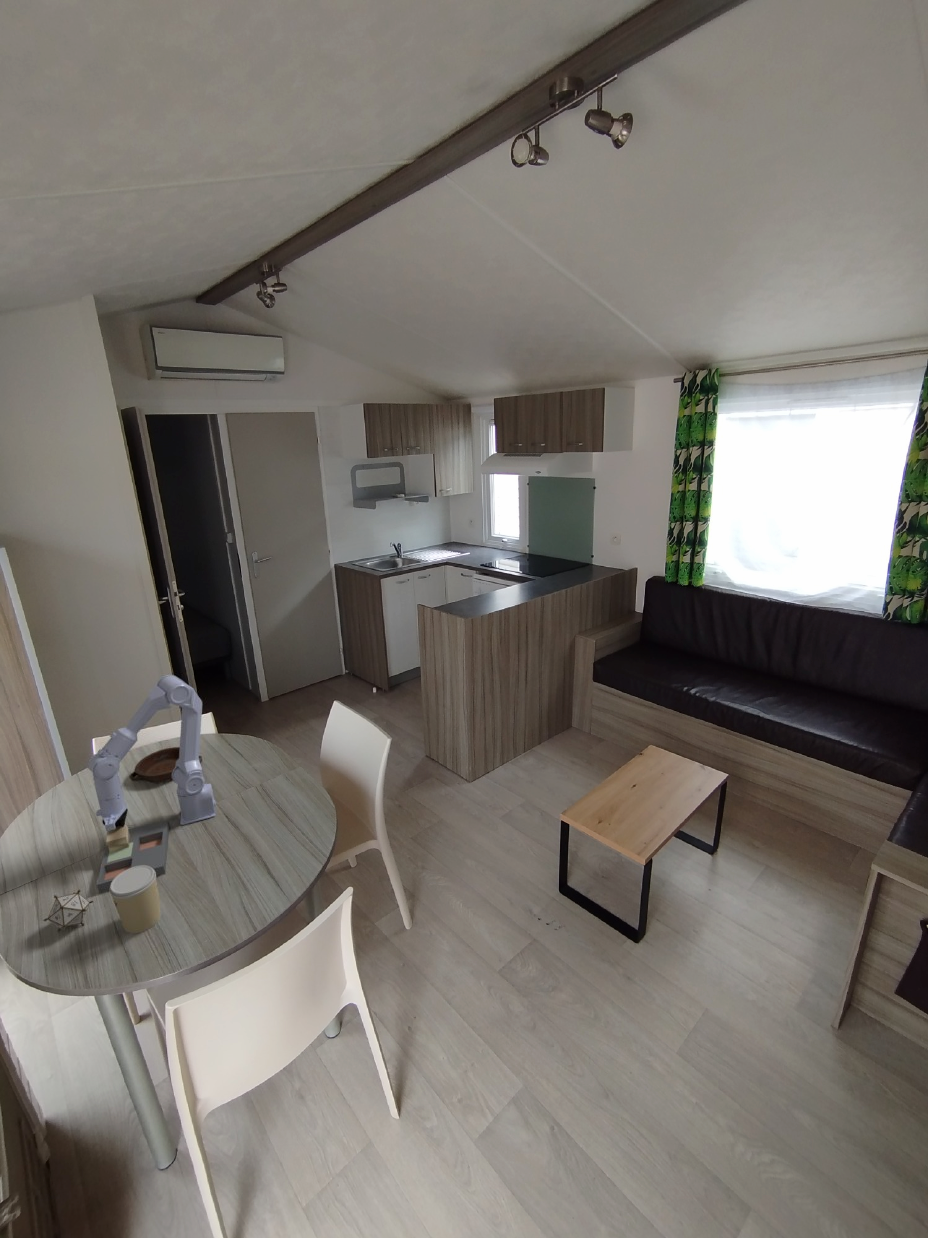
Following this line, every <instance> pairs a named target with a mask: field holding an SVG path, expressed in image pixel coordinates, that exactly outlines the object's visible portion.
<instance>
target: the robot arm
mask: <svg viewBox="0 0 928 1238" xmlns="http://www.w3.org/2000/svg"><path fill="white" fill-rule="evenodd" d="M170 704H172V705H174V706H178V707H180V708H181V720H180V736H179V738H180V739H179V747H180V752H179V759H178V760H177V761H176V766H175V768H174V770H173V772H172V780H171V781H173V782H174V783H176V785H177V788H176V795H177V798H178V799H177V800H178V803H179V807H180V826H184V825H187V824H191V823H196V822H199V821H202V820H207V819H211V818H215V817H216V806H217V802H216V799H215V798H214V797H215V796H214V791H213V787H212V784H211V783H205V782H206V781H205V780H206V779H205V777H204V776H203V767H202V765H201V764H202V763H200V762H199V756H200V749H201V748H200V747H201V745H200V744H201V731H202V729H201V728H202V718H203V717H202V713H203V700H202V699H201V698H200V697H199V695H198V694H197V692H196V691H195V688H194V687H192V686H190V684H187V683H186V682H185V681H184V680H183V679H181V678H179V677H178V676H176V675H174V674H167V675H164V676H162V677H161V678H159V680H158V681H157V683H156V684H155V685H154V686H152V687H151V689H150V692H149V693H148V696H147V697H146V698H145V699H144V701H143V702H142V704H141V705H140V707H139V708H138V709H137V711H135V713H134V714H133V716H132V717H131V719H130V720H129V722H127V724H126V726H124V727H120V728H118V729H116V731H115V732H111V733H110V735H109V737H110V738H109V740H108V741H107V742H106V743H105V744H104V746H102V748H99V749H98V751H97V752H96V753H95V754H93V755H92V756H91V757H90V759H89V760H88V764H87V765H86V766H87V768H88V770H89V771H91V773H92V777H93V781H94V783H93V785H94V788H95V793H96V797H97V801H98V804H99V808H100V809H98V810H96V813H95V816H96V817H100V816H101V818H102V820H101V821H102V824H103V825H104V827H105V831H106V832H107V831H110V830H114V829H115V827H119V826H122V827H124V825H126V819H127V815H128V812H129V811H128V805H127V803H126V802H125V800H126V799H125V796H124V793H123V789H122V785H121V784H122V783H121V780H120V779H121V778H120V775H119V773H118V772H119V771H120V767H121V766H120V763H121V762H122V760H123V759H124V758H125V757H126V756H127V755H128V753H129V752H130V750H131V749H132V748H133V747H134V745H135V744H136V743H137V742H138V734H139V732H140V731H141V730H142V729H143V728H144V727H145V726H146V724H147V723H148V722H149V721H150V720H151V719H152V718H153V717H154V715H155V714H156V713H157V712H158V711H160V710H161V711H163V710H167V709H171V708H172V706H171V705H170ZM103 825H102V826H103Z"/></svg>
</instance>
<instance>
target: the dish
mask: <svg viewBox="0 0 928 1238" xmlns="http://www.w3.org/2000/svg"><path fill="white" fill-rule="evenodd" d="M179 752H180V746H175V747H167V748H163V749H159V750H156V751H155V752H152V753H150V754H147V756H144V757H143V758H141V760H139V762H137V764H136V765H135V766H134V771H133V772H132V773H131V774H130V775H129V778H130V780H131V781H132V782H140V781H144V782H147V783H150V784H158V783H160V784H161V783H166V782H169V781H173V780H172V772H173V770H174V768H175V766H176V761H177V760H178V759H179ZM199 762H200V764H202V762H203V757H202V756H201V755H199Z"/></svg>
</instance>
